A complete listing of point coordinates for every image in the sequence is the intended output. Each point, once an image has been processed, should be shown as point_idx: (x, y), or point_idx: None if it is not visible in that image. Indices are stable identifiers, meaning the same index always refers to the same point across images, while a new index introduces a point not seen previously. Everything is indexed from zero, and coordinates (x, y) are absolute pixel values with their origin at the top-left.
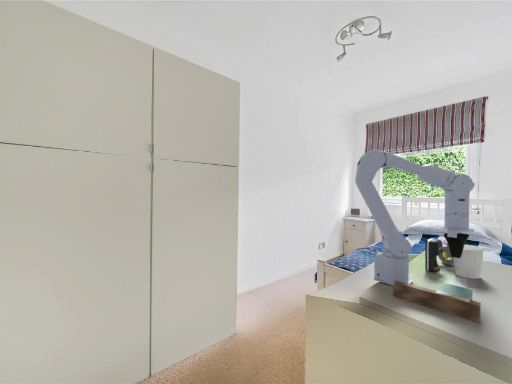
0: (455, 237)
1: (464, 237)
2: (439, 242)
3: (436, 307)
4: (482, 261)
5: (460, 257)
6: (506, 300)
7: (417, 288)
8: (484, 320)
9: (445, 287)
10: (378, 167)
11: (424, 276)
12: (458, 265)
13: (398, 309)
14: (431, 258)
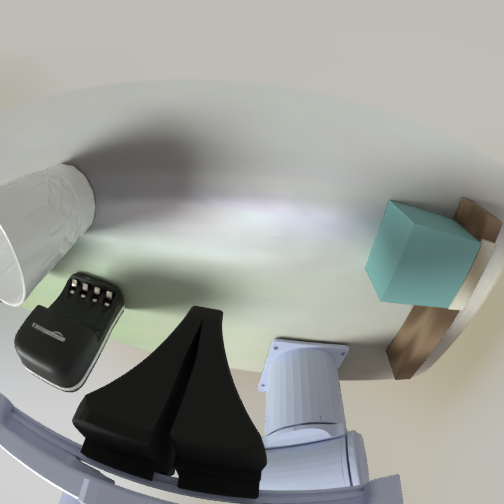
0: (396, 477)
1: (264, 463)
2: (37, 353)
3: None
4: (18, 179)
5: (208, 309)
6: (263, 86)
7: (438, 341)
8: (462, 189)
9: (424, 295)
10: None
11: (187, 313)
12: (71, 244)
13: (455, 331)
14: (97, 328)
